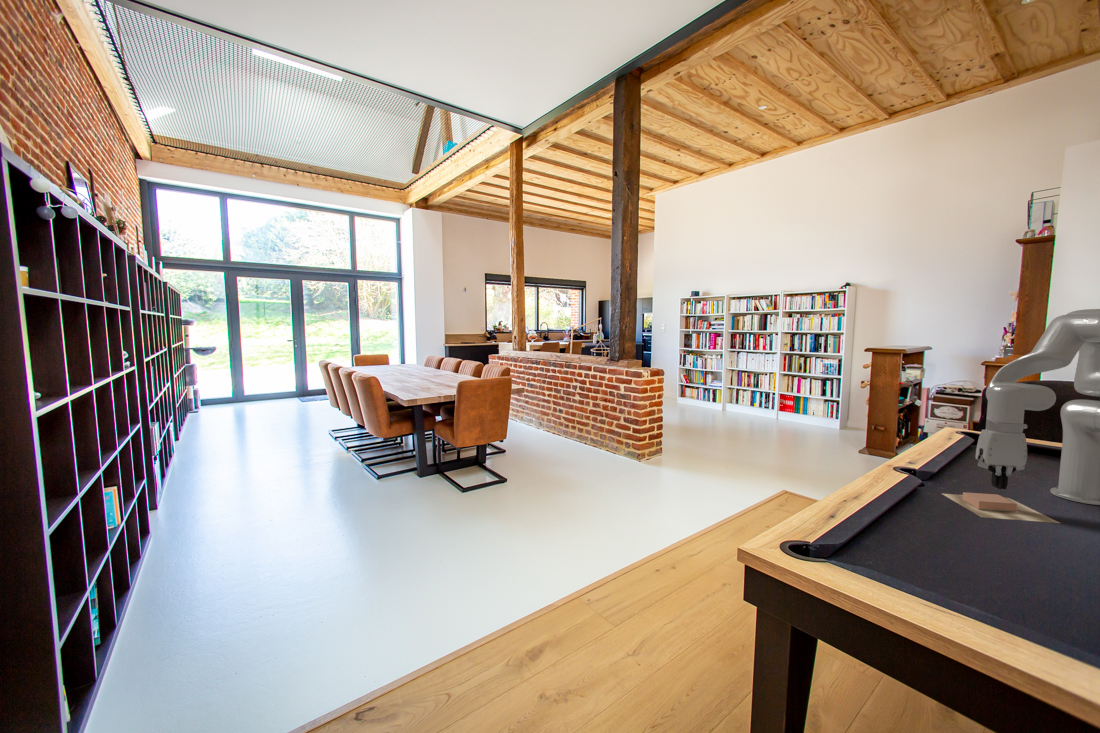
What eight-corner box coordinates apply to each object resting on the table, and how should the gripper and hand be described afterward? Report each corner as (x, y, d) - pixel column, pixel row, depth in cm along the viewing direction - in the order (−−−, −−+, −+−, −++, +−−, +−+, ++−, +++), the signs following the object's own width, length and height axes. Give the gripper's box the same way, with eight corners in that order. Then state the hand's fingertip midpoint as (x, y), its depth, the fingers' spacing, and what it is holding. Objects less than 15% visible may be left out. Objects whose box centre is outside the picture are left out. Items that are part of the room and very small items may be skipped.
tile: (998, 494, 132) (963, 492, 134) (1016, 503, 125) (979, 501, 127) (997, 503, 132) (962, 500, 134) (1016, 512, 125) (978, 509, 128)
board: (1008, 500, 136) (1008, 497, 136) (1060, 526, 119) (1060, 523, 119) (940, 496, 140) (941, 493, 140) (981, 520, 123) (981, 517, 123)
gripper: (1024, 425, 129) (1019, 485, 131) (964, 423, 133) (960, 481, 134) (1046, 431, 122) (1040, 494, 123) (982, 429, 125) (977, 490, 127)
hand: (998, 487), depth 129 cm, fingers closed
